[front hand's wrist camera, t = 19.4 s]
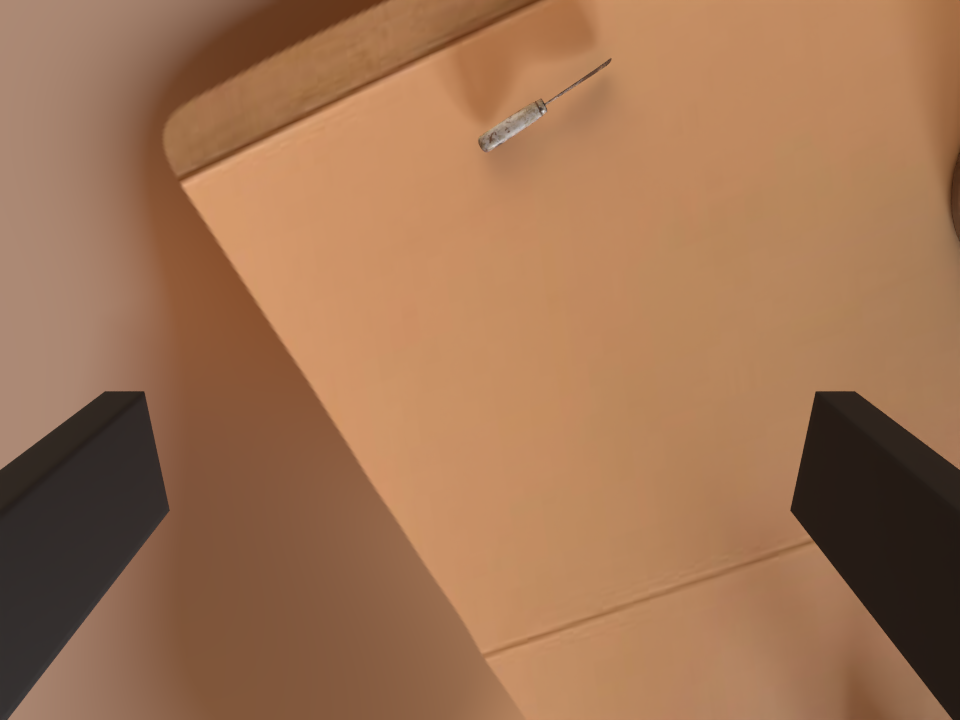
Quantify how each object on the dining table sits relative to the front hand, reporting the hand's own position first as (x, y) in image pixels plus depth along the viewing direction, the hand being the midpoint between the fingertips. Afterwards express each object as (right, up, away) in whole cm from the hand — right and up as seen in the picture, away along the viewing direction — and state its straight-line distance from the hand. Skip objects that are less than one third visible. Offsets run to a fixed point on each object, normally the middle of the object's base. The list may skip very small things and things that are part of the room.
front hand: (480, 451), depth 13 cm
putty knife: (+3, +16, +22) cm, 27 cm away
